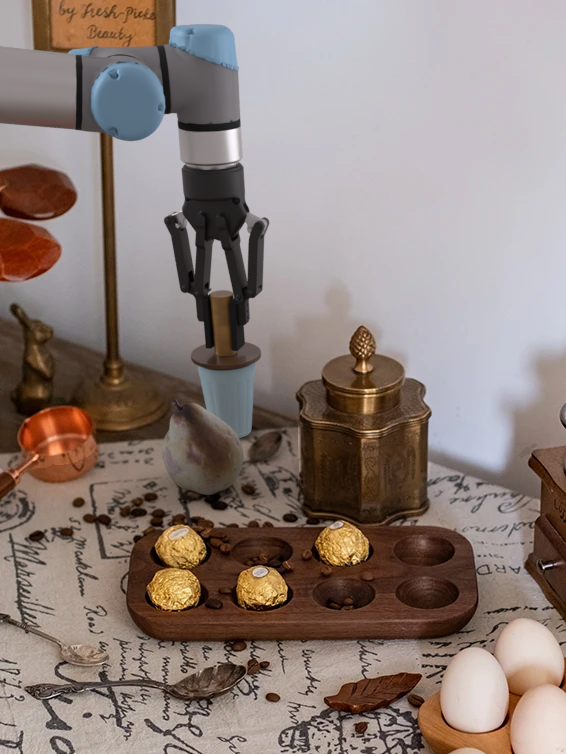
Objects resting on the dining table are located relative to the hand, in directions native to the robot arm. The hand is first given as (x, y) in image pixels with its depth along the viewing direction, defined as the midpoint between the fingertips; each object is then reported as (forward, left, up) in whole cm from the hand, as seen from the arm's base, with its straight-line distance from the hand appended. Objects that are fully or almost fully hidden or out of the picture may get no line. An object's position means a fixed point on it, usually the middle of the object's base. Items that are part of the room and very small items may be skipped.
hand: (225, 345), depth 145 cm
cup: (0, 0, -13) cm, 13 cm away
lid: (0, 0, -2) cm, 2 cm away
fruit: (+3, -16, -13) cm, 21 cm away
